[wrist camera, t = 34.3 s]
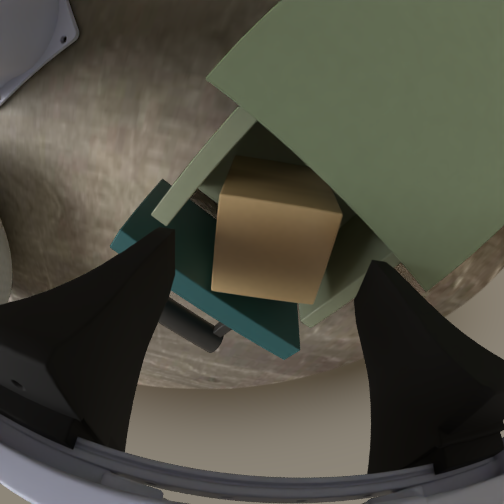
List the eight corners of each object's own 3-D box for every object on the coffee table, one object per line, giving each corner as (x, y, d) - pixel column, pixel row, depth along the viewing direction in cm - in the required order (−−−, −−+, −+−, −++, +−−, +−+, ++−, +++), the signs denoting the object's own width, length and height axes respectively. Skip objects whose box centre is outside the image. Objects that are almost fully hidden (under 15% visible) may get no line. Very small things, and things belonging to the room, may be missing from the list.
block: (304, 243, 17) (313, 305, 13) (225, 231, 17) (210, 291, 13) (323, 169, 15) (344, 214, 10) (235, 154, 15) (218, 193, 10)
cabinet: (379, 211, 18) (426, 292, 12) (234, 75, 14) (204, 78, 8) (512, 85, 12) (595, 114, 5) (397, -63, 8) (460, -110, 2)
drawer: (240, 322, 22) (232, 389, 18) (119, 240, 19) (79, 299, 14) (432, 163, 15) (486, 208, 10) (302, 21, 11) (321, -5, 7)
